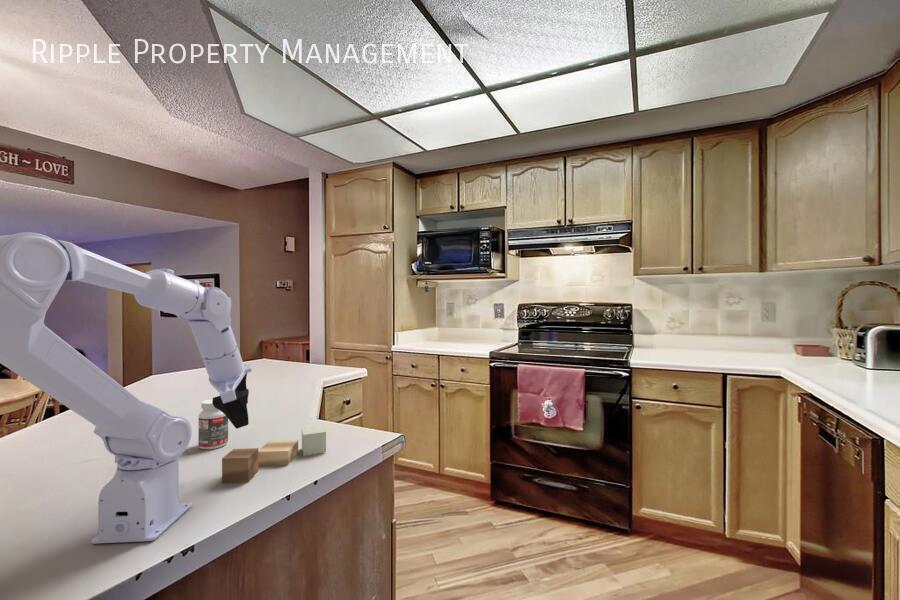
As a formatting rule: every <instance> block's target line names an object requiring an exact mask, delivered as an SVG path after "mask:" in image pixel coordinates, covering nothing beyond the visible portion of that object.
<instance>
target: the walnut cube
mask: <svg viewBox="0 0 900 600" xmlns="http://www.w3.org/2000/svg"><path fill="white" fill-rule="evenodd" d="M258 451H259V447H254V448H253V447H252V448H233V449H231V450H230V451H229V452H228V453H226V455H225V456H222V458H221V484H237V483H238V484H241V482H246V483H250V482H251V480H252V479H253V478H255V476H256V475H257V474H258V473H259V472H258V471H259V466H258ZM257 472H258V473H257ZM256 473H257V474H256ZM255 474H256V475H255ZM254 475H255V476H254ZM239 482H240V483H239Z"/></svg>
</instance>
